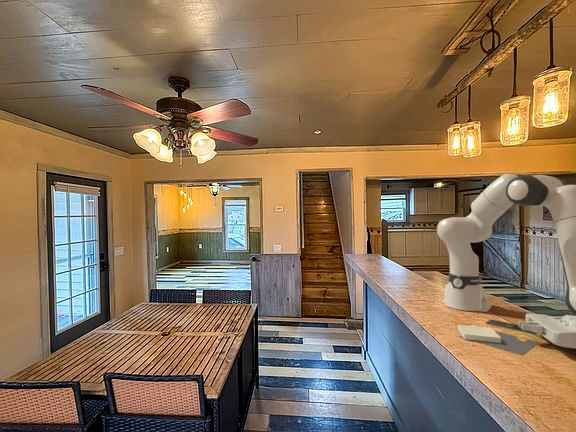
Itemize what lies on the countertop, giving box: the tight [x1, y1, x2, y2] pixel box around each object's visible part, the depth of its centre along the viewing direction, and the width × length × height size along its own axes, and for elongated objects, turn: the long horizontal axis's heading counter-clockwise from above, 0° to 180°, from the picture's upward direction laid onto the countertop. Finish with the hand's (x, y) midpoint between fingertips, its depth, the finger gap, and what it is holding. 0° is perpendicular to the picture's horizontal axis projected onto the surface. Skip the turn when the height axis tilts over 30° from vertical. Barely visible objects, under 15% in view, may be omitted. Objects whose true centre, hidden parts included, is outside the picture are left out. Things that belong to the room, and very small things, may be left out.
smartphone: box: [485, 319, 538, 335], centre depth 114 cm, size 8×1×15 cm
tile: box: [457, 324, 501, 344], centre depth 103 cm, size 2×9×10 cm
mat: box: [459, 330, 540, 356], centre depth 101 cm, size 16×17×1 cm
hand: (520, 325), depth 100 cm, fingers closed
